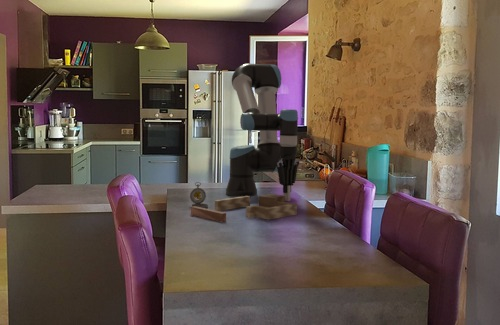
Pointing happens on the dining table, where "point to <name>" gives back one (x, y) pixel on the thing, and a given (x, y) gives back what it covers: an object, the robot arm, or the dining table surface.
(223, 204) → the brown wooden pieces
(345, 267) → the dining table surface
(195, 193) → the pocket watch
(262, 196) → the block
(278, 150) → the robot arm
